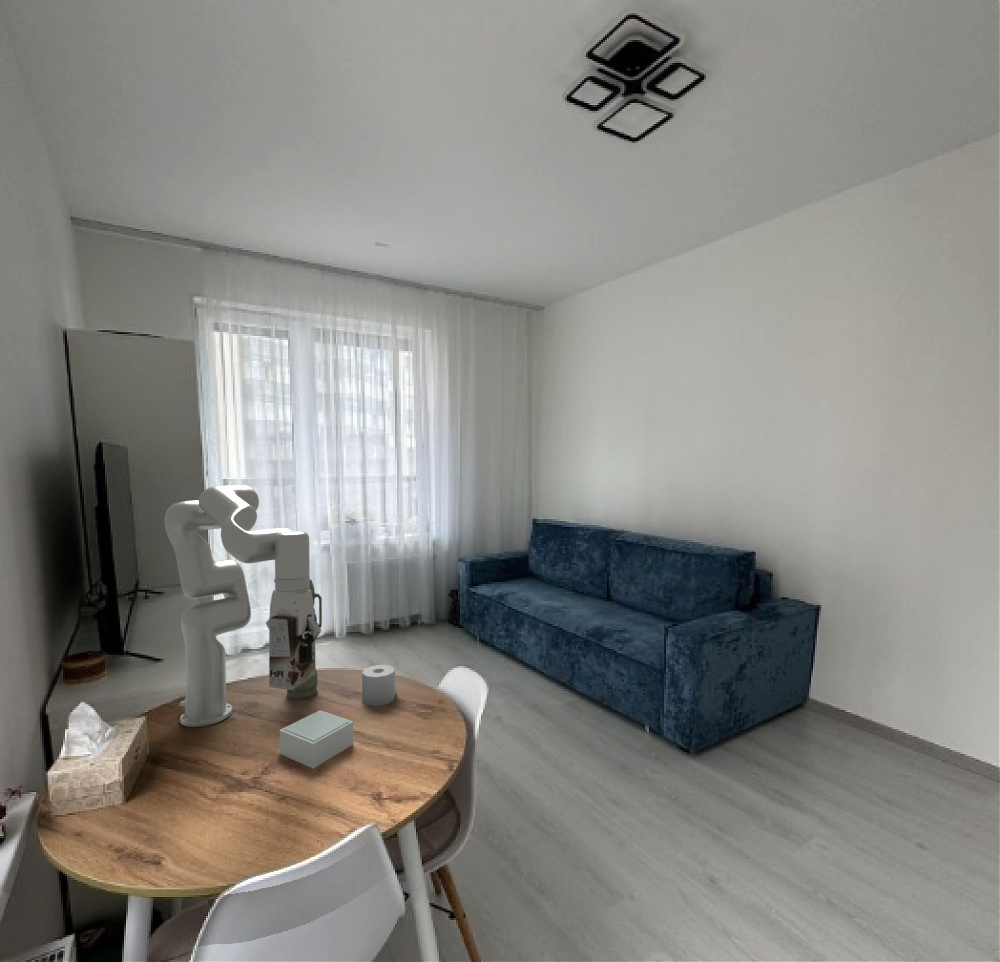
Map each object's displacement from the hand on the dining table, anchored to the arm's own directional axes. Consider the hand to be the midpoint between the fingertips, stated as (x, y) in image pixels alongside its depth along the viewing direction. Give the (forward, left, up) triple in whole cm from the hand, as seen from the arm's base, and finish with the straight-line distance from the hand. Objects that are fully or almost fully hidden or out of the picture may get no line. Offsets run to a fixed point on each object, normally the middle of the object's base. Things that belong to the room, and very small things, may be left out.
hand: (293, 658), depth 121 cm
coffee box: (0, 0, -6) cm, 6 cm away
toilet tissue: (0, +35, -24) cm, 43 cm away
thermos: (-24, +28, -24) cm, 44 cm away
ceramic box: (+2, +5, -24) cm, 25 cm away
